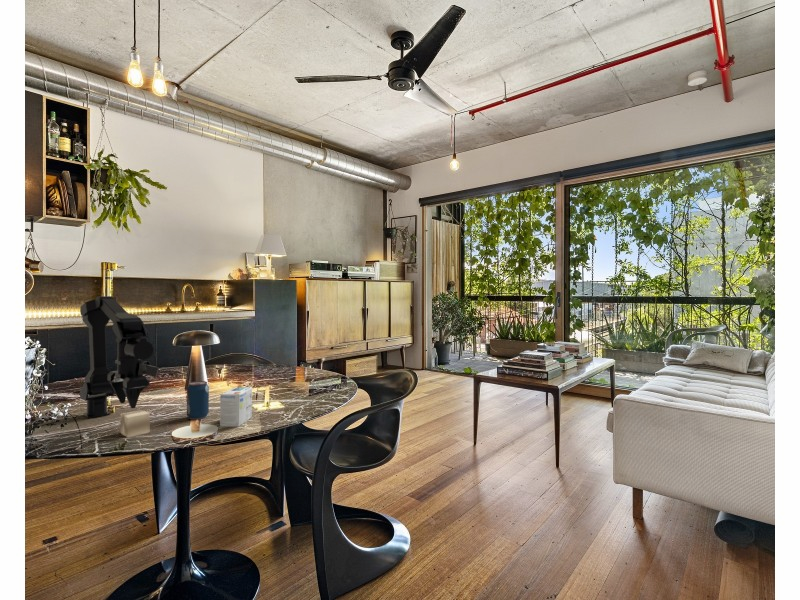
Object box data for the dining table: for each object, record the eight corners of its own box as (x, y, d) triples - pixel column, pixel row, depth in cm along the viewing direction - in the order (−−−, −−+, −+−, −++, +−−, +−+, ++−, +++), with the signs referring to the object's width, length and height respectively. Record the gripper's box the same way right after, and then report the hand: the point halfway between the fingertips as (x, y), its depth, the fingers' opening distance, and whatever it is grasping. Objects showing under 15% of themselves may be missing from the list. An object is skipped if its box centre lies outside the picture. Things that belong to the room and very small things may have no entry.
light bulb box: (233, 416, 143) (233, 386, 143) (252, 417, 143) (252, 386, 143) (219, 426, 132) (219, 393, 132) (239, 427, 132) (239, 394, 132)
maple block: (120, 413, 125) (127, 417, 121) (142, 409, 129) (149, 413, 126) (120, 433, 125) (127, 437, 121) (142, 428, 130) (149, 432, 126)
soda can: (212, 414, 145) (213, 381, 145) (200, 420, 138) (200, 385, 138) (195, 413, 146) (195, 380, 146) (181, 419, 139) (182, 384, 139)
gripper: (167, 357, 130) (167, 405, 130) (145, 351, 141) (144, 396, 141) (127, 361, 121) (127, 413, 121) (107, 354, 132) (106, 402, 133)
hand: (127, 405), depth 129 cm, fingers open, 9 cm apart
